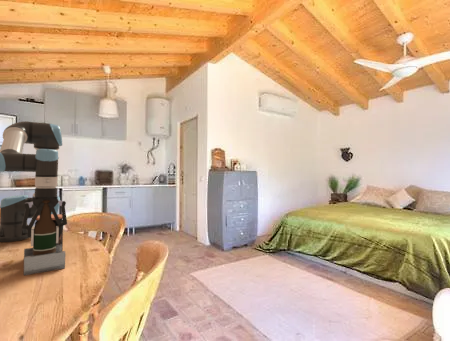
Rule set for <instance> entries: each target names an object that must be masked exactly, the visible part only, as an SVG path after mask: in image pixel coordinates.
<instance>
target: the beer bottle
mask: <svg viewBox="0 0 450 341" xmlns="http://www.w3.org/2000/svg"><path fill="white" fill-rule="evenodd" d="M42 202H43V203H44V206H43V208H42V211H40V218H39V221H38V222H37V223H36V225H35V224H34V227H33V228H34V241H33V246H32V248H33V255H40V254H47V253H54V252H56V225H55V223H54V222H53V220H52V218H51V211H50V209H49V205H48V203H49V202H50V200H43V201H42Z"/></svg>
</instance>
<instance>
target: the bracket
mask: <svg viewBox="0 0 450 341" xmlns="http://www.w3.org/2000/svg"><path fill="white" fill-rule="evenodd" d="M65 268H66V250H62V244H58V245H56V252H54V253H47V254H40V255H33V247H28V248H24V250H23V276H28V275H35V274H39V273H40V274H41V273H46V272H51V271H57V270H62V269H65Z"/></svg>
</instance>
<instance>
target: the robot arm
mask: <svg viewBox="0 0 450 341" xmlns="http://www.w3.org/2000/svg"><path fill="white" fill-rule="evenodd" d="M2 138H3V139H2V142H1V143H2V144H1V147H0V172H2V173H3V172H8V173H9V172H19V173H21V172H23V173H24V172H27V173H29V172H30V173H35V175H34V187H35V188H34V193H33V194H32V197H29V195H28V194H21V195H20V194H19V195H14V196H6V197H4V198H2V199H1V200H0V243H10V242H19V241H23V240H26V239H30V248H33V241H34V227H33V226H35V222H36V219H37V217H38V216H40V211H42V208H43V206H44V203H43V202H42V201H43V200H50V202H49V203H48V205H49V209H50V211H51V214H53V215H54V217H55V220H56V222H57V224H58V226H56V243H58V237H59V234H62V226H63V227H64V226H66V225H68V218H67V214H66V204H67V202H66V200H61V197H60V196H58V188H57V187H58V181H59V180H58V177H59V174H58V171H59V158H60V157H59V149H60V147H62V146H63V137H62V131H61V127H60V126H59V125H58V124H53V123H47V122H38V121H37V122H35V121H18V122H14V123H12V124H11V125H8V126H7V127H6V128H5V129H4V130H3V132H2ZM24 144H30V145H33V149H35V153H23V150H24ZM59 209H60V212H61V215H62V220H63V222H60V220H59V217H58V215H57V214H58V213H59ZM28 219H31V220H30V221H29V224H28Z"/></svg>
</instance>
